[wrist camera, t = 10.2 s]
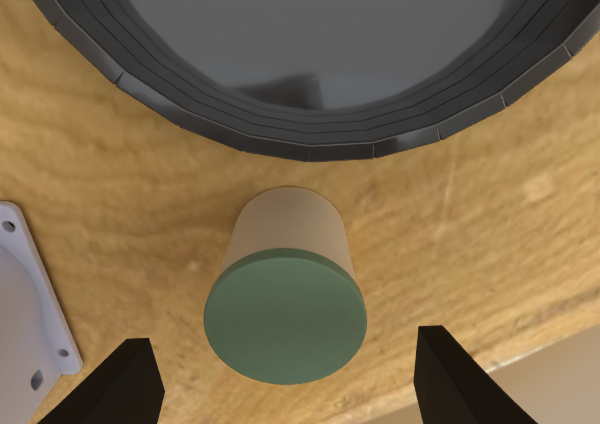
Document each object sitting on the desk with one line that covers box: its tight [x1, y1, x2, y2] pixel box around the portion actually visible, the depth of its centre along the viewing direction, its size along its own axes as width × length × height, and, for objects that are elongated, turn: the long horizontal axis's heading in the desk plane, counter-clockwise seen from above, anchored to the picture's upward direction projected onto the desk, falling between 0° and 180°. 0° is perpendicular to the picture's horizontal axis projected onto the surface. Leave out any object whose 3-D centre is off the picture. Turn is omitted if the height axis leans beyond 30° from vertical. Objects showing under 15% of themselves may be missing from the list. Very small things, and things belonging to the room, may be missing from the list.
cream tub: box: [204, 187, 367, 385], centre depth 14 cm, size 5×5×6 cm
